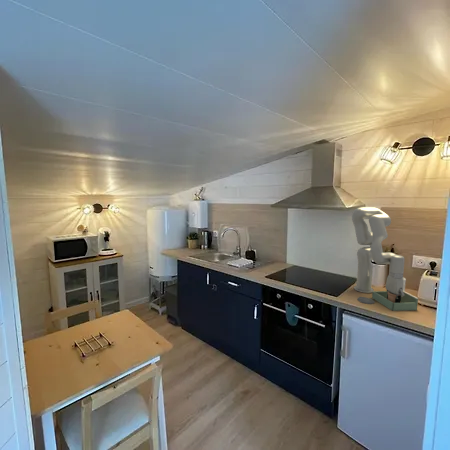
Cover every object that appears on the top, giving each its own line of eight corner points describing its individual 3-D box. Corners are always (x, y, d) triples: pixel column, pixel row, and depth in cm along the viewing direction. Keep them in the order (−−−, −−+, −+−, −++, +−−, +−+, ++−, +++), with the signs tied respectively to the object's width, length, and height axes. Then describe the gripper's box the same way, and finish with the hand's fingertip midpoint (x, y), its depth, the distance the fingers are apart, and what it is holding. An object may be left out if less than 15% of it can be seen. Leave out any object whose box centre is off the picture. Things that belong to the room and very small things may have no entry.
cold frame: (372, 297, 177) (372, 286, 176) (394, 297, 178) (395, 286, 178) (392, 310, 158) (393, 298, 157) (417, 310, 159) (418, 298, 158)
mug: (384, 291, 189) (385, 277, 187) (395, 289, 193) (396, 275, 192) (396, 296, 181) (397, 280, 179) (407, 293, 186) (408, 278, 184)
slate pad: (354, 297, 177) (354, 297, 177) (368, 297, 177) (368, 296, 177) (363, 304, 167) (363, 303, 167) (378, 303, 167) (378, 302, 167)
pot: (384, 301, 171) (385, 291, 171) (394, 301, 172) (395, 290, 171) (391, 306, 164) (392, 295, 163) (402, 305, 165) (403, 295, 164)
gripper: (381, 270, 174) (379, 296, 176) (400, 279, 157) (397, 308, 159) (392, 270, 175) (389, 296, 177) (412, 279, 158) (409, 307, 160)
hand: (393, 301), depth 168 cm, fingers closed on pot, 6 cm apart
